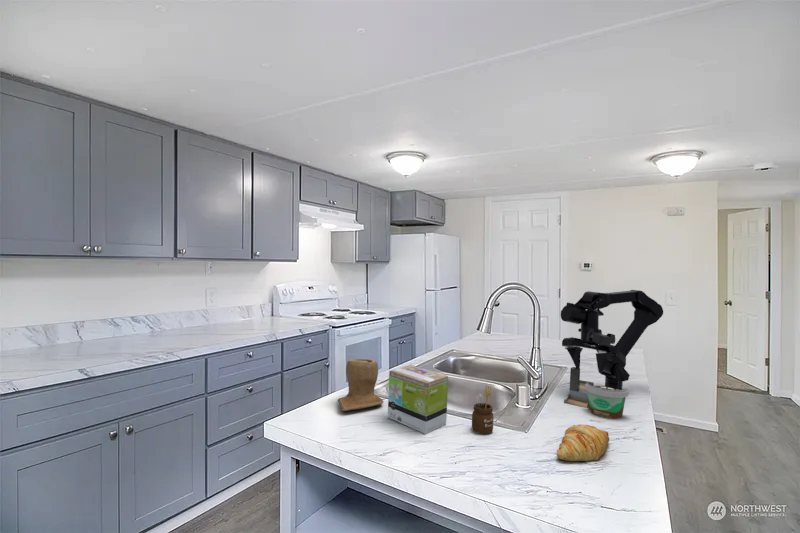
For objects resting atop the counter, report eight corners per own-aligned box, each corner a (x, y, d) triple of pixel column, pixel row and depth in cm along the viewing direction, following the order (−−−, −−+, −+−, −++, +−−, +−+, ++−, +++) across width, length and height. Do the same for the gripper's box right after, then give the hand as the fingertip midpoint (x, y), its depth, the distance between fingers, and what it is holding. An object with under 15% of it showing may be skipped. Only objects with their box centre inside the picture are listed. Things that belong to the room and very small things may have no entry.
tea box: (386, 418, 121) (387, 369, 120) (408, 410, 128) (410, 363, 128) (425, 435, 110) (427, 381, 110) (447, 424, 118) (449, 374, 117)
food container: (582, 418, 125) (583, 386, 125) (583, 411, 131) (584, 381, 131) (627, 427, 120) (629, 393, 119) (627, 420, 125) (628, 388, 125)
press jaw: (570, 396, 141) (571, 366, 140) (588, 400, 138) (590, 369, 137) (569, 398, 138) (570, 368, 138) (587, 402, 135) (588, 371, 135)
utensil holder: (467, 431, 114) (469, 388, 114) (478, 423, 119) (479, 383, 119) (487, 437, 110) (488, 393, 110) (496, 429, 115) (498, 387, 115)
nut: (576, 393, 145) (576, 382, 145) (588, 395, 143) (589, 384, 143) (574, 396, 142) (574, 385, 142) (586, 399, 140) (587, 387, 140)
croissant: (568, 482, 96) (584, 459, 92) (536, 447, 103) (550, 425, 99) (614, 456, 108) (630, 436, 105) (583, 427, 115) (596, 406, 112)
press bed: (571, 393, 149) (572, 378, 148) (595, 398, 144) (596, 382, 144) (563, 406, 135) (564, 389, 135) (589, 412, 131) (589, 394, 131)
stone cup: (371, 396, 139) (372, 353, 139) (387, 408, 129) (389, 361, 129) (329, 403, 132) (330, 357, 131) (343, 416, 121) (344, 366, 121)
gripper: (583, 319, 135) (582, 366, 131) (629, 328, 140) (630, 375, 135) (561, 322, 146) (560, 367, 141) (605, 331, 150) (605, 374, 146)
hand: (589, 371), depth 141 cm, fingers open, 9 cm apart
